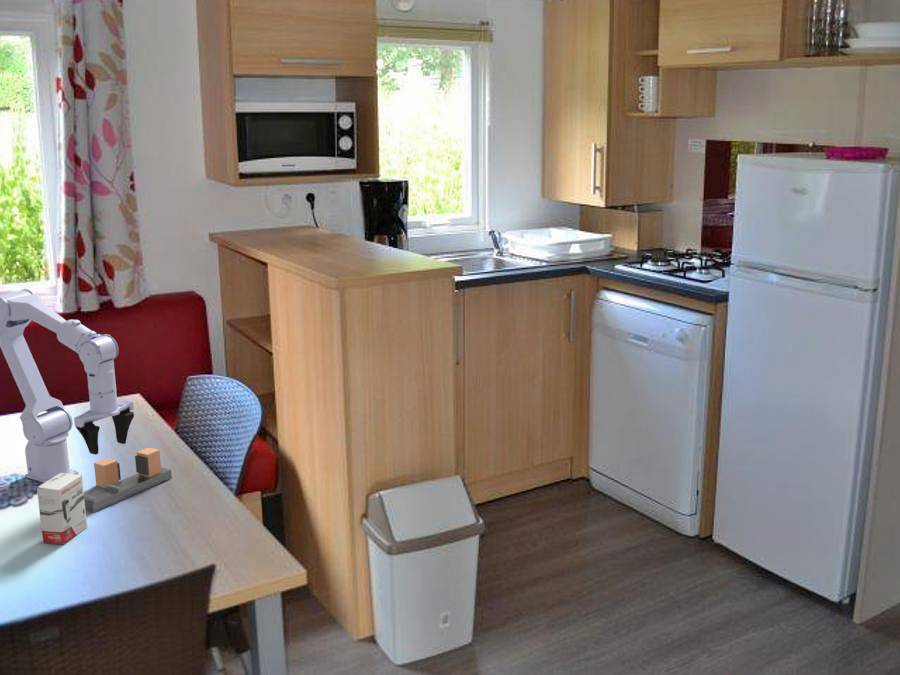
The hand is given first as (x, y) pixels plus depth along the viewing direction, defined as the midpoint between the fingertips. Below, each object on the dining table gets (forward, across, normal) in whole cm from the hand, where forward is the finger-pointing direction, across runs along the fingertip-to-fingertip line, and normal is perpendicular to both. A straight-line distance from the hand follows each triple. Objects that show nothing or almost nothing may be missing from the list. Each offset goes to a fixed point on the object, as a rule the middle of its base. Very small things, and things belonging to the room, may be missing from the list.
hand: (108, 448), depth 213 cm
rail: (+9, 0, -5) cm, 11 cm away
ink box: (+10, -21, -12) cm, 26 cm away
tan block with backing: (+9, +1, +2) cm, 10 cm away
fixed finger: (+7, +7, -5) cm, 11 cm away
